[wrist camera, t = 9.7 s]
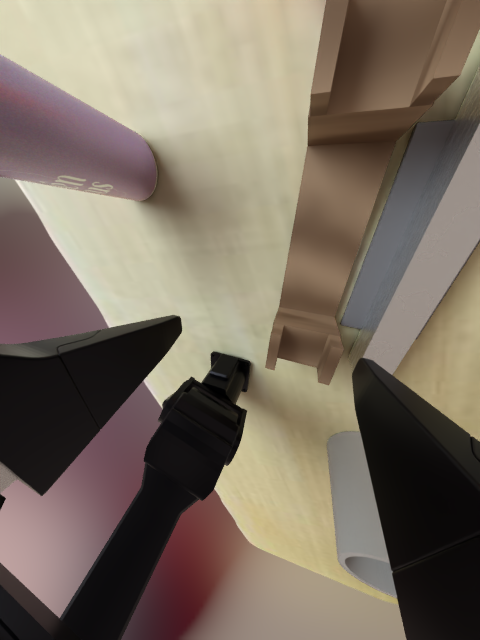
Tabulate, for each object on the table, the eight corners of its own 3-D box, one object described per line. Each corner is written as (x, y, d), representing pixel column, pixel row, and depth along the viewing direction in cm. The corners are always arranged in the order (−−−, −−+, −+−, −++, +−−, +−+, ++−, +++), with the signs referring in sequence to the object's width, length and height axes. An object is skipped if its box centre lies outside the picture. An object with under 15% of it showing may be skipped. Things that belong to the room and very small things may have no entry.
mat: (414, 337, 18) (416, 339, 18) (340, 323, 20) (340, 325, 19) (555, 115, 10) (563, 111, 10) (415, 125, 12) (418, 122, 12)
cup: (333, 424, 27) (350, 542, 17) (406, 444, 24) (479, 599, 14) (321, 456, 31) (329, 566, 21) (382, 476, 28) (425, 614, 18)
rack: (321, 349, 22) (326, 393, 16) (273, 338, 24) (262, 374, 18) (430, 34, 11) (584, -210, 5) (324, 53, 12) (342, -113, 6)
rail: (376, 364, 20) (387, 383, 18) (348, 357, 21) (353, 374, 18) (581, 0, 9) (694, -94, 6) (502, 15, 10) (573, -64, 7)
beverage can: (149, 124, 17) (-269, -160, 5) (167, 195, 20) (-76, 134, 7) (108, 144, 19) (-258, -18, 7) (129, 206, 22) (-111, 173, 9)
